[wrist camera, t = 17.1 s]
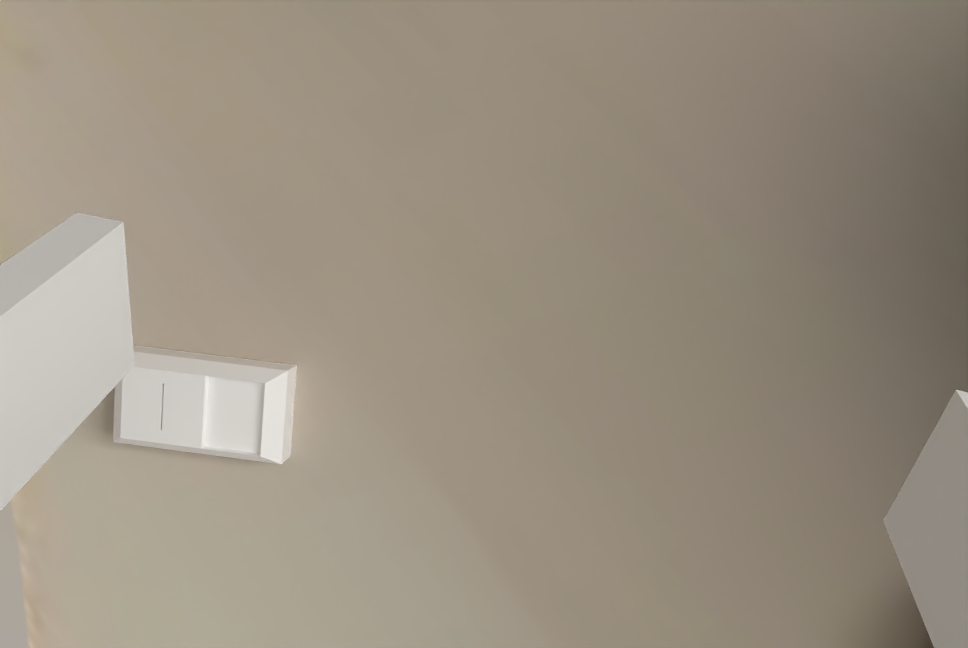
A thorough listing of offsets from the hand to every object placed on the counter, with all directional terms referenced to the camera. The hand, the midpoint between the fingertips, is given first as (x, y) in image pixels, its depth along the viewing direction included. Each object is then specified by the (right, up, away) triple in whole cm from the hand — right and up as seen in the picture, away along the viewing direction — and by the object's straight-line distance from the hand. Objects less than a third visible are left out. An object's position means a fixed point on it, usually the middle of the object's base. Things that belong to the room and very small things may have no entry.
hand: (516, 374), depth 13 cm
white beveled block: (-15, -3, +31) cm, 34 cm away
